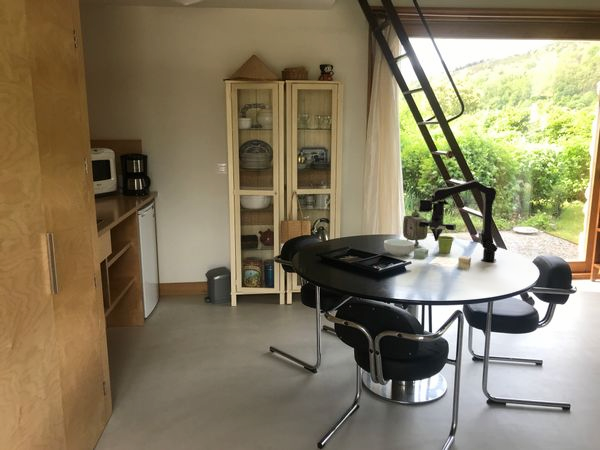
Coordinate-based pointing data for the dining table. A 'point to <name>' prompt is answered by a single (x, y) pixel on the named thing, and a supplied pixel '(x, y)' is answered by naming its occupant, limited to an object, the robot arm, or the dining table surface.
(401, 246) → the cereal bowl
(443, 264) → the letter
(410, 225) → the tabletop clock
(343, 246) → the dining table surface
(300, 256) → the dining table surface
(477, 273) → the dining table surface
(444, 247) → the plant pot
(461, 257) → the cube
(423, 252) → the translucent green block
